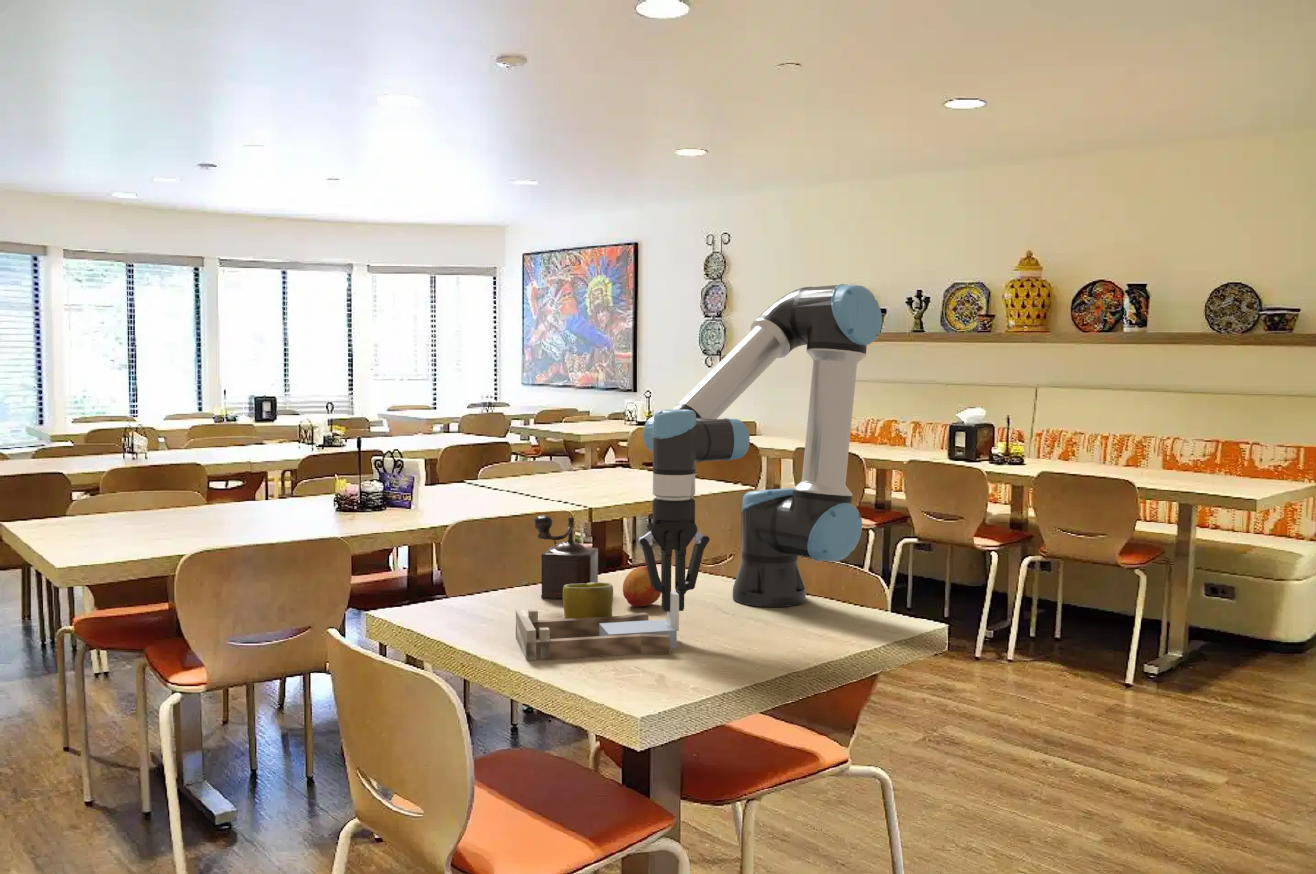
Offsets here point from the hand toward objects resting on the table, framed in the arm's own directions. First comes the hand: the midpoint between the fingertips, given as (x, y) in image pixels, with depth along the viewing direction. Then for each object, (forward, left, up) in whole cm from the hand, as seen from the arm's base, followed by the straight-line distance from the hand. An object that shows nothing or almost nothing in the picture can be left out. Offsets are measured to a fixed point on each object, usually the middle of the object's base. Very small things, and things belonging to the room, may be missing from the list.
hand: (672, 629), depth 194 cm
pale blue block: (+7, +1, -2) cm, 7 cm away
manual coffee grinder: (+13, -39, -2) cm, 41 cm away
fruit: (-1, -27, -2) cm, 27 cm away
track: (+15, 0, -2) cm, 15 cm away
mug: (+12, -14, -2) cm, 19 cm away
